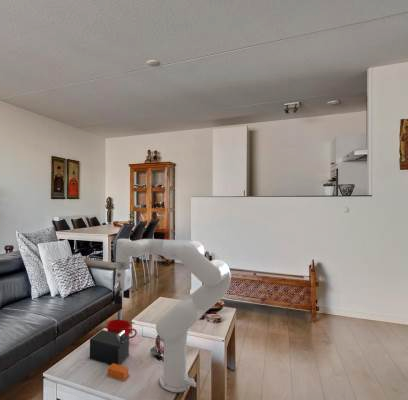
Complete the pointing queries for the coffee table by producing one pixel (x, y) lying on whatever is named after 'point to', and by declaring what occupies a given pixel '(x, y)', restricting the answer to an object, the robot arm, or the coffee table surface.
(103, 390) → the coffee table surface
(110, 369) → the orange block
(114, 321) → the ceramic cup
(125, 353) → the bin
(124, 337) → the bin lid
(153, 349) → the packaged food
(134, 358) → the coffee table surface
